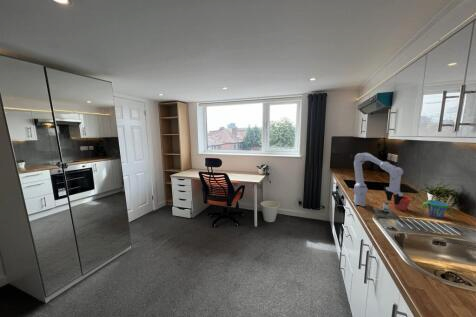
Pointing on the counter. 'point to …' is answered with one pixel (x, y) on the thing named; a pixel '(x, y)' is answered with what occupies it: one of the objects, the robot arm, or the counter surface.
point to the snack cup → (436, 208)
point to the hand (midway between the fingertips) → (392, 202)
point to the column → (385, 207)
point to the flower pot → (402, 203)
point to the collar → (385, 213)
